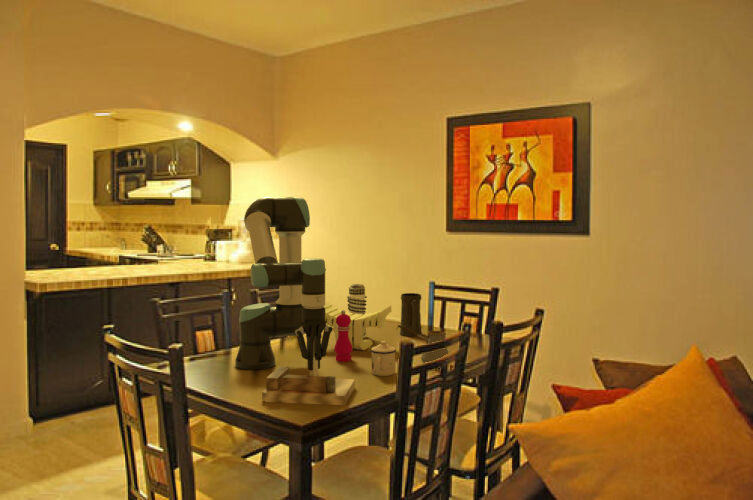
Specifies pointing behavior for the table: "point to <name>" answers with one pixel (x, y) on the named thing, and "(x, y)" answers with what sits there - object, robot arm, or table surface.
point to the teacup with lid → (383, 359)
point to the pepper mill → (343, 338)
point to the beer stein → (410, 313)
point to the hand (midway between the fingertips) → (313, 379)
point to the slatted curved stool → (356, 324)
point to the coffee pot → (433, 337)
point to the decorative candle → (357, 300)
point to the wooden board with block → (277, 393)
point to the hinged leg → (309, 383)
